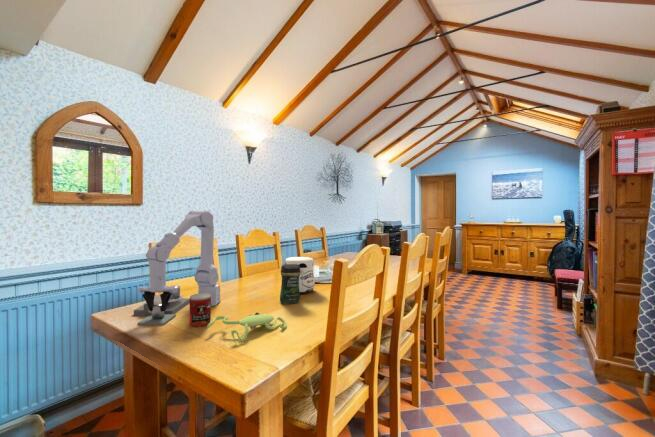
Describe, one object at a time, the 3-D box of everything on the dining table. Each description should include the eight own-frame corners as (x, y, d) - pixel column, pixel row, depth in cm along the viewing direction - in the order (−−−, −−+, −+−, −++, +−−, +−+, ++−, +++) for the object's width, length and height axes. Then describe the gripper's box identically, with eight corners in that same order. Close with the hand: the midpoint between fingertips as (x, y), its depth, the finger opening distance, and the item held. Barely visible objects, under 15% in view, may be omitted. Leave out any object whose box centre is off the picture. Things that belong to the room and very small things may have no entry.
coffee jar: (281, 305, 148) (282, 266, 147) (278, 300, 155) (278, 263, 154) (301, 303, 151) (302, 265, 150) (297, 299, 158) (297, 262, 158)
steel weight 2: (181, 296, 143) (181, 285, 143) (177, 299, 139) (177, 288, 139) (172, 296, 143) (172, 285, 143) (167, 299, 139) (167, 287, 139)
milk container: (313, 296, 164) (314, 261, 164) (280, 295, 165) (281, 261, 164) (315, 287, 182) (316, 256, 181) (285, 287, 182) (286, 256, 181)
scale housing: (190, 302, 149) (190, 292, 149) (172, 315, 131) (172, 304, 131) (156, 302, 149) (156, 292, 149) (133, 315, 130) (133, 304, 130)
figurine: (202, 333, 114) (202, 318, 114) (263, 316, 133) (264, 303, 133) (228, 349, 101) (228, 332, 101) (291, 328, 121) (292, 313, 121)
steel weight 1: (165, 314, 128) (165, 302, 128) (163, 318, 124) (163, 306, 124) (153, 315, 127) (153, 303, 127) (150, 319, 123) (150, 306, 123)
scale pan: (187, 294, 148) (187, 293, 148) (173, 303, 134) (173, 302, 134) (157, 294, 148) (157, 293, 148) (140, 303, 134) (140, 302, 134)
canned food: (190, 328, 117) (190, 299, 117) (188, 321, 124) (188, 294, 124) (211, 325, 121) (212, 297, 120) (209, 319, 128) (209, 292, 127)
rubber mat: (176, 316, 130) (176, 314, 130) (163, 325, 120) (163, 323, 120) (151, 315, 130) (151, 314, 130) (137, 324, 120) (137, 322, 120)
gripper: (133, 278, 120) (133, 313, 121) (171, 279, 121) (171, 313, 121) (143, 274, 127) (143, 307, 128) (179, 275, 128) (179, 308, 128)
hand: (157, 310), depth 125 cm, fingers closed on steel weight 1, 4 cm apart
